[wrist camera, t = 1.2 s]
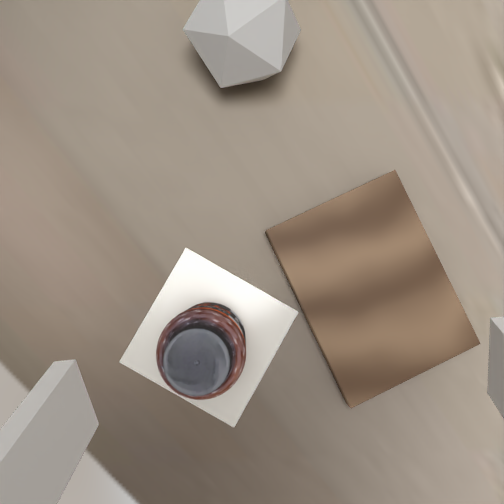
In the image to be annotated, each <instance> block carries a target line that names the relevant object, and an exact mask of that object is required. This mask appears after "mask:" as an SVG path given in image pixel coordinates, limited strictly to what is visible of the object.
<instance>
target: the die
mask: <svg viewBox="0 0 504 504" xmlns="http://www.w3.org/2000/svg"><path fill="white" fill-rule="evenodd" d="M183 31H184V32H185V34H186V35H187V37H188V38H189V40H190V41H191V43H192V45H193V46H194V48H195V49H196V51H197V52H198V54H199V55H200V57H201V58H202V60H203V62H204V63H205V65H206V66H207V68H208V69H209V71H210V72H211V74H212V75H213V77H214V78H215V80H216V82H217V83H218V85H219V86H220V88H224V87H229V86H234V85H240V84H245V83H250V82H256V81H261V80H264V79H266V78H269V77H271V76H273V75H275V74H277V73H279V72H281V71H282V69H283V66H284V64H285V62H286V60H287V58H288V56H289V54H290V52H291V50H292V48H293V46H294V43H295V41H296V39H297V37H298V35H299V33H300V31H301V29H300V26H299V24H298V22H297V20H296V17H295V15H294V13H293V11H292V8H291V6H290V4H289V2H288V0H200V1H199V3H198V4H197V6H196V8H195V9H194V11H193V13H192V15H191V16H190V18H189V20H188V21H187V23H186V25H185V26H184V28H183Z"/></svg>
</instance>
